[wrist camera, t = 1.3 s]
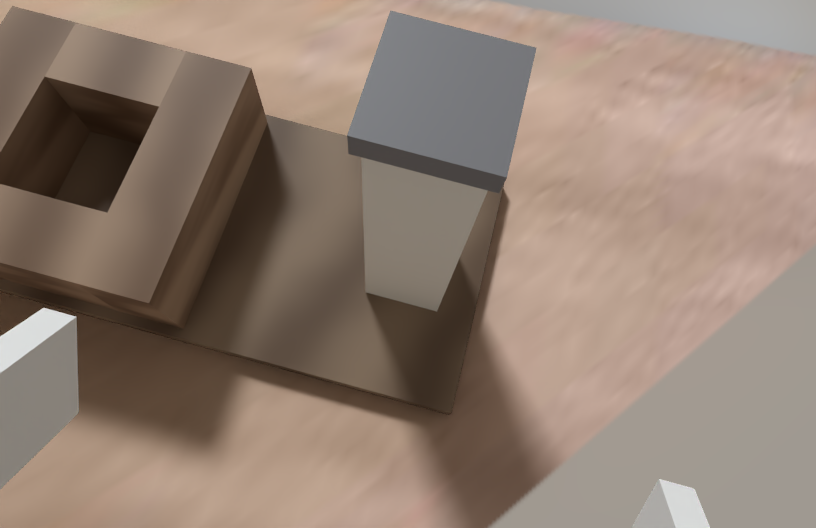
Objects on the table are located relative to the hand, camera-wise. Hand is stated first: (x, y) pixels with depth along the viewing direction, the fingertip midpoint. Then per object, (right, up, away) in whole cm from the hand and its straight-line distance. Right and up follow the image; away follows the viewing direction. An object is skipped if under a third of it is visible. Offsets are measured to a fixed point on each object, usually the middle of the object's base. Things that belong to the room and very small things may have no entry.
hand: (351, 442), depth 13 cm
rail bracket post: (+1, +4, +19) cm, 19 cm away
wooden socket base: (-9, +6, +20) cm, 23 cm away
